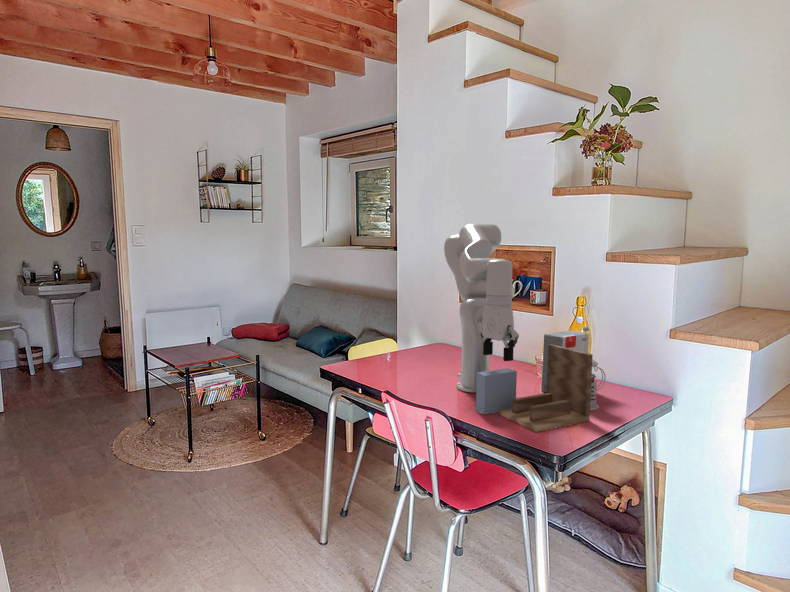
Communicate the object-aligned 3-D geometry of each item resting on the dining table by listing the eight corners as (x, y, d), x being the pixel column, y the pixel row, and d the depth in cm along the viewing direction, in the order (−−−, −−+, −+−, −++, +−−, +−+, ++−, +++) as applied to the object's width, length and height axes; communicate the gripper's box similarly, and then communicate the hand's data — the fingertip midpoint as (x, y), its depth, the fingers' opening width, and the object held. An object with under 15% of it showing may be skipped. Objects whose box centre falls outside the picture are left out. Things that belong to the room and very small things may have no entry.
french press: (561, 400, 172) (564, 324, 169) (595, 399, 174) (599, 323, 171) (574, 410, 163) (577, 329, 160) (610, 409, 164) (614, 329, 161)
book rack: (499, 414, 159) (500, 350, 157) (549, 405, 168) (552, 344, 166) (536, 432, 145) (538, 362, 142) (589, 420, 154) (592, 354, 152)
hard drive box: (559, 397, 176) (561, 337, 174) (540, 391, 183) (542, 334, 180) (587, 389, 186) (589, 332, 183) (568, 384, 192) (570, 329, 189)
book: (476, 411, 162) (476, 372, 161) (507, 405, 168) (508, 368, 166) (484, 415, 159) (484, 375, 157) (515, 409, 164) (516, 371, 163)
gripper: (471, 299, 165) (470, 353, 167) (507, 304, 150) (506, 364, 151) (491, 298, 169) (490, 351, 170) (528, 303, 153) (526, 361, 155)
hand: (497, 357), depth 161 cm, fingers open, 9 cm apart
